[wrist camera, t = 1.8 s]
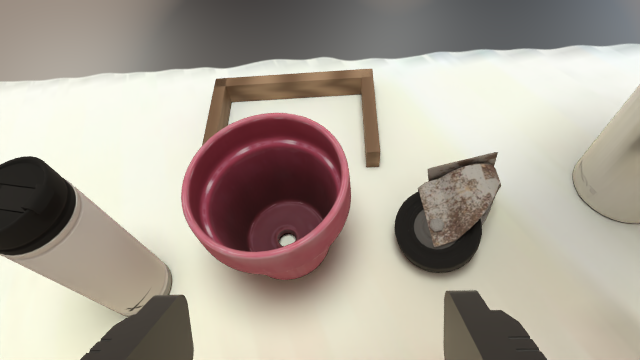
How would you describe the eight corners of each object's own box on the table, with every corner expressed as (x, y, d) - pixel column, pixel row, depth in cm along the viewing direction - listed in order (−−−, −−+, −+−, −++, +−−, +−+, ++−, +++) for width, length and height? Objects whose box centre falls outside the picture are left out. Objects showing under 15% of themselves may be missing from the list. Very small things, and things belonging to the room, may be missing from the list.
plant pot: (228, 190, 47) (189, 119, 36) (345, 177, 47) (340, 101, 36) (220, 312, 40) (167, 267, 29) (360, 298, 39) (360, 248, 28)
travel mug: (160, 324, 39) (11, 244, 23) (102, 311, 41) (-81, 227, 24) (184, 264, 43) (69, 155, 26) (130, 255, 44) (-14, 144, 27)
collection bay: (371, 85, 54) (372, 68, 52) (379, 166, 47) (380, 151, 45) (222, 94, 56) (215, 78, 53) (207, 174, 49) (199, 160, 46)
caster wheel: (408, 282, 42) (388, 196, 46) (520, 261, 40) (489, 172, 44) (402, 273, 36) (380, 174, 40) (533, 247, 34) (496, 146, 38)
